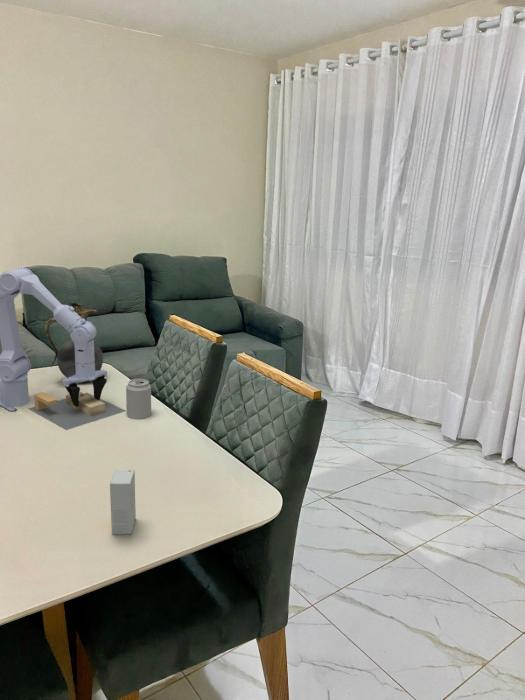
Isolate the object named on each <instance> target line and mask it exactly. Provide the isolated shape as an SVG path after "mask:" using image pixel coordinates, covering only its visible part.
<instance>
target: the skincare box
mask: <svg viewBox="0 0 525 700" xmlns="http://www.w3.org/2000/svg"><path fill="white" fill-rule="evenodd" d="M135 474H136V472H135V469H134V468H133V469H127V468H125V469H121V468H120V469H114V471H113V474H112V477H111V480H110V482H109V483H110V484H109V495H110V497H109V498H110V520H111V521H110V522H111V524H110V525H111V535H132V534H133V531H134V526H135V522H136V517H137V515H136V511H137V510H136V485H135V484H136V483H135V482H136V480H135V479H136V476H135Z"/></svg>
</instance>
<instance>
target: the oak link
mask: <svg viewBox="0 0 525 700" xmlns="http://www.w3.org/2000/svg"><path fill="white" fill-rule="evenodd" d="M80 396H81V397H79V406H78V407H76V406H74V405H73V403H72V400H71V397H70V395H69V394H66V395H65V397H66V398H65V399H66V403H67V405H69V406H71V407H73V408H75V409H77V410H79V411H81V412H83V413H85V414H87V415H89V416H91V417H92V416H95V415H98V414H101V413H105V403H103V402H101V401H99V400H97V399H95V398H92V397H90V396H88V395H86V394H84V393H83V392H82V391H80Z"/></svg>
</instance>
